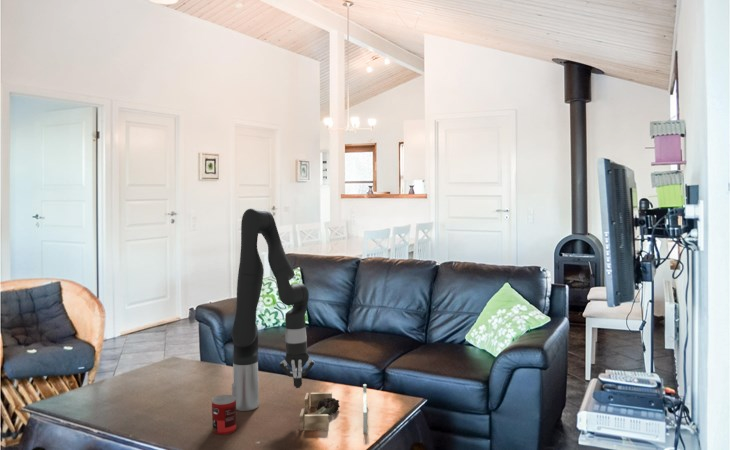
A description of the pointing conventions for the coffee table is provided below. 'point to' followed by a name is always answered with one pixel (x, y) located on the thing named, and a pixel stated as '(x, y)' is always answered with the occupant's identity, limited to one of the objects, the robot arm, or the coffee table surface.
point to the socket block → (315, 419)
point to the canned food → (224, 414)
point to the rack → (364, 408)
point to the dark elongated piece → (327, 406)
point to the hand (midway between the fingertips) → (298, 387)
